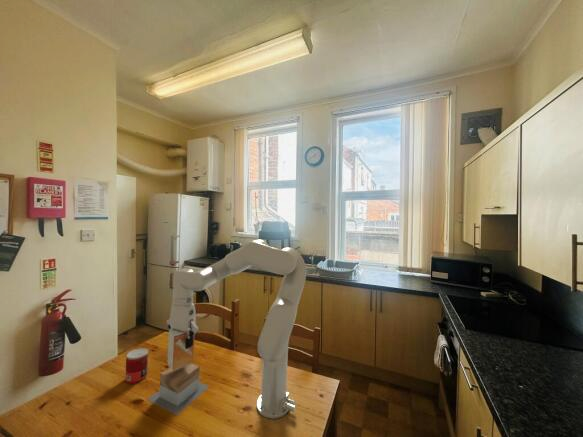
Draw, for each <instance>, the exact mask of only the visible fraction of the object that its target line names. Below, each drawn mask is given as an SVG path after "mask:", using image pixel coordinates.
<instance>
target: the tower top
mask: <svg viewBox="0 0 583 437" xmlns="http://www.w3.org/2000/svg"><path fill="white" fill-rule="evenodd" d="M159 375H160V376H159V378H160V379H159V386H160V385H161V386H163V387H165V388H167V389H169V390H171V391H173V392H175V393H177V394H179V393H180V392H181V391H183V390H184V389H185V388H186V387H188V386H189V385H190V384H192V383H193V382H194V381H196V380H197V379H198V378H199V379H200V366H198V365H196V364H194V363H190V364H187V365H185V366H182V367H180V368H177V369H174V370H172V369H171V367H170V366H169V367H168V368H167V369H165V370H164V371H162V372H161V373H160V374H159Z"/></svg>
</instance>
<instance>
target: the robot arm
mask: <svg viewBox="0 0 583 437" xmlns="http://www.w3.org/2000/svg"><path fill="white" fill-rule="evenodd" d="M251 267H254V268H257V269H260V270H263V271H267V272H270V273H273V274H277V275H281V276H283V278H282V280H281V283H280V288H279V289H278V293H277V295H276V298H275V300H274V301H273V303H272V304H271V306H270V308H269V310H268V313H267V316H266V319H265V321H264V324H263V326H262V330H261V333H260V335H259V338H258V341H257V352H258V354H259V356H260V358H261V360H262V363H261V364H262V366H261V389H260V390H261V392H260V393H261V394H260V395H259V397H258V398H257V400H256V409H257V411H258V413H259V414H260V415H261V416H262V417H264V418H268V419H278V418H281V417H283V416H285V415H286V414H287V413H288V412H289V411H290V412H293V413H295V411H296V400H295V399H292V398H290V397H289V396H290V392H288V391H287V389H288V388H287V386H288V385H287V384H288V383H287V381H288V380H287V378H288V358H289V356H288V355H289V354H288V353H289V342H290V341H289V340H290V337H291V334H292V331H293V328H294V325H295V323H296V322H295V321H296V318H297V313H298V307H299V303H300V300H301V297H302V293H303V292H304V291H303V290H304V289H305V288H304V287H305V283H306V279H307V266H306V263H305V261H304V258H303V256H302V255H301V254H300V252H299V251H297V249H295V248H293V247H290V246H289V247H284V248H282V249H280V248H276V247H273V246H269V244H268V243H267V242H266V241H265V240H263V239H255V240H250V241H249V242H246V243H245V245H243V246H242V247H238V248H237V249H235V250H233V251H232V252H229V253H228V254H226V255H225V257H224V258H222V259H221V260H219V261H216V262H215V263H212V264H211V265H208V266H206V267H204V268H202V269H199V270H196V271H194V270H193V269H192V268H188V267H187V268H179V269H175V270H174V272H173V284H172V303H171V307H170V314H169V318H168V319H166V324H167V327H168V332H169V331H170V330H173V329H177V330H180V331H183V332H185V334H186V336H187V338H186V342H185V348H186V349H188V348H189V347H191V346H193V336H194V335H196V334H197V333H198V331H199V329H200V328H199V327H198V325H197V312H196V306H195V303H194V301H195V300H194V292H201V291H203V290H205V289H207V288H209V287H210V286H212V285H214V284H215V283H217V282H219V281H221V280H223V279H225V278H227V277H229V276H231V275H237V274H239V273H242V272H244V271H245V270H248V269H249V268H251ZM188 328H189V329H188ZM188 331H190V332H191V333H190V334H189V332H188Z"/></svg>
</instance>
